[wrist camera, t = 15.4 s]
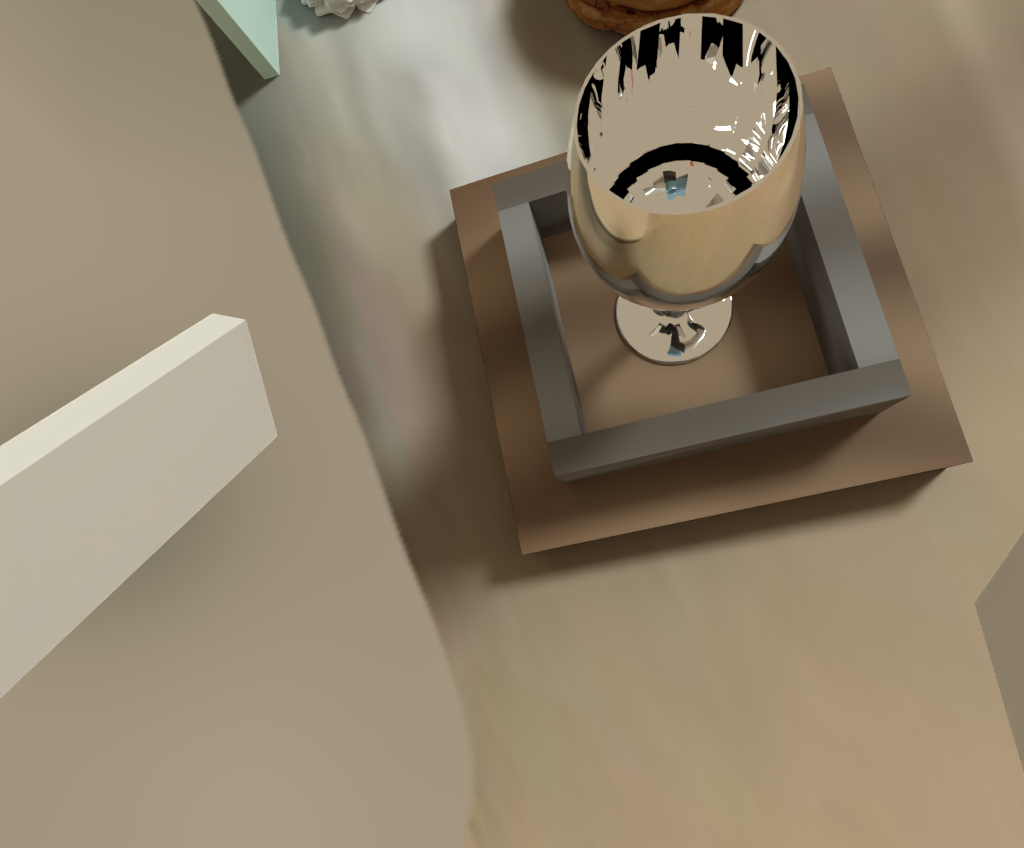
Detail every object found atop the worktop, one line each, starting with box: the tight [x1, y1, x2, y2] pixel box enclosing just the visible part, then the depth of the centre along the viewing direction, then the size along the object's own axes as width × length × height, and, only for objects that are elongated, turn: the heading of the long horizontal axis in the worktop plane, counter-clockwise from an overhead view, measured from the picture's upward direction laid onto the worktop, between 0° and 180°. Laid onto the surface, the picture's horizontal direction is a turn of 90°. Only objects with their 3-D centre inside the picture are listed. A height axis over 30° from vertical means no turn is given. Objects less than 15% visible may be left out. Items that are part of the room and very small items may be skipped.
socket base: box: [450, 67, 973, 555], centre depth 24 cm, size 16×16×5 cm
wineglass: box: [566, 13, 806, 364], centre depth 19 cm, size 6×6×12 cm
